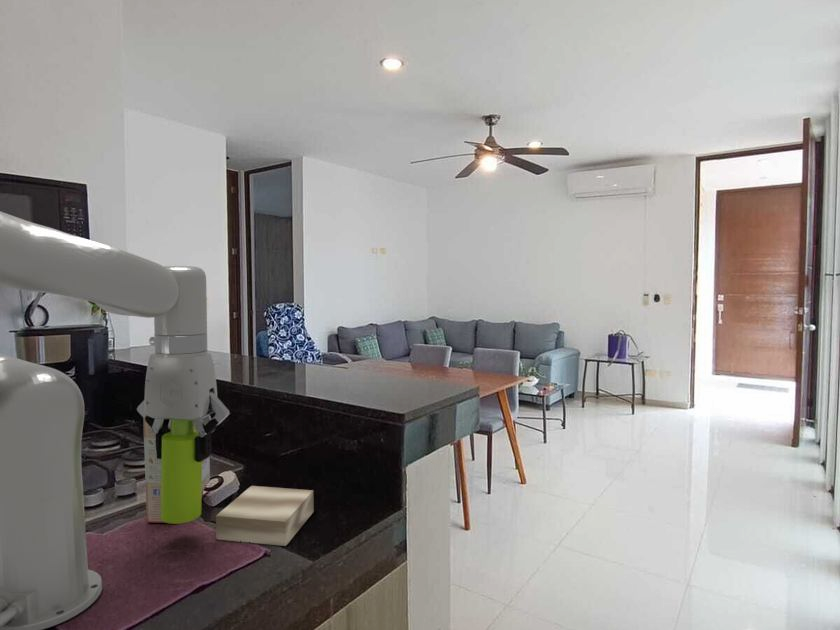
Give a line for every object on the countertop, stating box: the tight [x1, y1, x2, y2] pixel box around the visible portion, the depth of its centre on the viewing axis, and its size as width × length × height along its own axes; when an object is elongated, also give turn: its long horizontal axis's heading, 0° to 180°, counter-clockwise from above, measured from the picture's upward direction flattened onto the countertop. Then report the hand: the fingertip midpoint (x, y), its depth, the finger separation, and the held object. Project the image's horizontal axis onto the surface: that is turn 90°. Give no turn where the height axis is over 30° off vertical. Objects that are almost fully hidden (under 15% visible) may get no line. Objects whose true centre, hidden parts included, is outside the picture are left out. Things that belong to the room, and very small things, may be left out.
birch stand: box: [215, 485, 315, 547], centre depth 91 cm, size 12×12×4 cm
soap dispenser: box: [161, 420, 203, 525], centre depth 84 cm, size 6×7×20 cm
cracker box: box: [142, 417, 211, 524], centre depth 97 cm, size 14×6×21 cm, turn 179°
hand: (183, 456), depth 84 cm, fingers closed on soap dispenser, 6 cm apart
